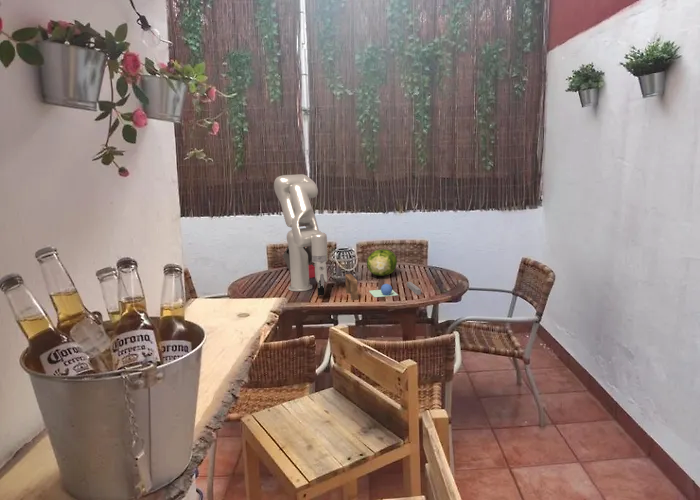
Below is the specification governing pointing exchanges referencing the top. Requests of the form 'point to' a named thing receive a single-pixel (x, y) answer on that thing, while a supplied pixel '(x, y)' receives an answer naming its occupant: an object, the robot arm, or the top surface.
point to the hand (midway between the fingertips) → (321, 295)
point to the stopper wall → (414, 288)
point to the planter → (287, 256)
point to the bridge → (351, 286)
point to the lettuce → (382, 262)
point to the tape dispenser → (311, 271)
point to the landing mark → (379, 294)
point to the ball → (386, 289)
